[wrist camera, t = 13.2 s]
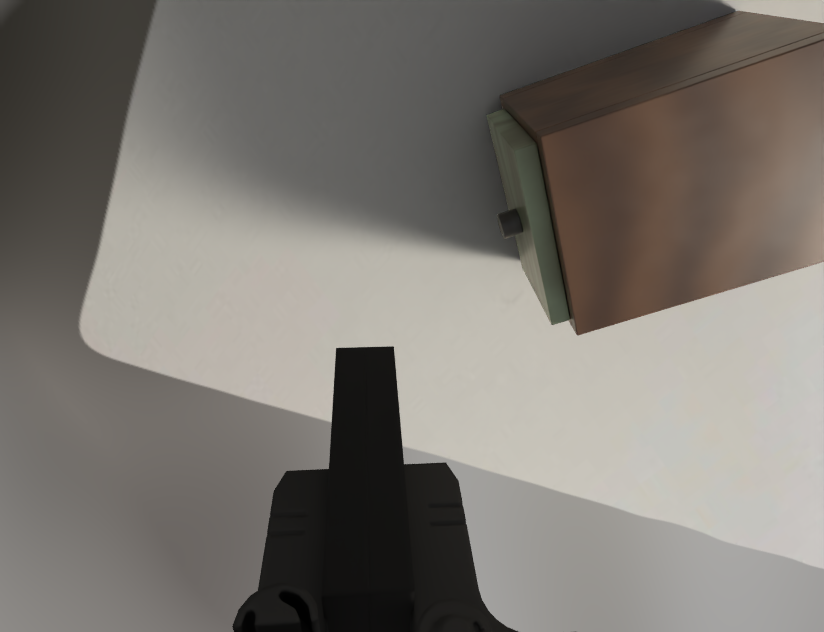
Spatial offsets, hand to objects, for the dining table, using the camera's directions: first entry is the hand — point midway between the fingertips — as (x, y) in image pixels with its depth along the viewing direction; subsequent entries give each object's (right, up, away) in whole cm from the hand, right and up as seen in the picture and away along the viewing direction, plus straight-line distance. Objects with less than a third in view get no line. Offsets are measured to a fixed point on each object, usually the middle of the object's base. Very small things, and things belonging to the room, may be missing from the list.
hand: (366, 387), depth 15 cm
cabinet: (+16, +13, +22) cm, 30 cm away
